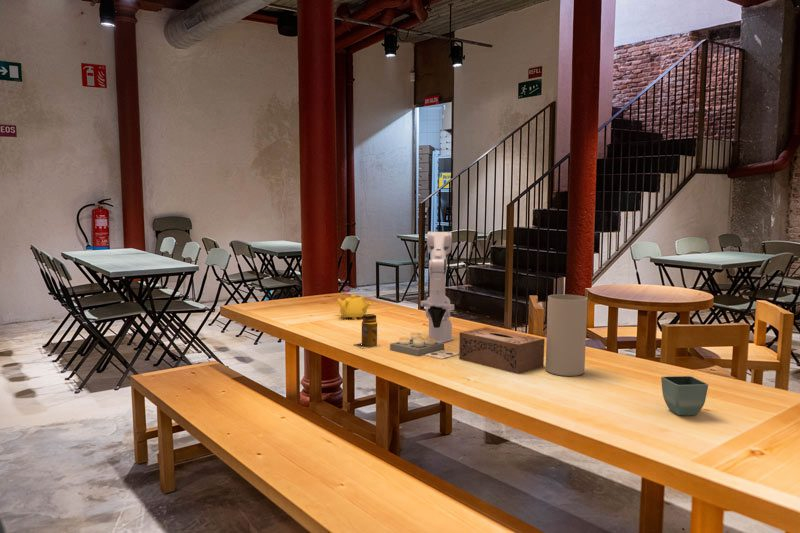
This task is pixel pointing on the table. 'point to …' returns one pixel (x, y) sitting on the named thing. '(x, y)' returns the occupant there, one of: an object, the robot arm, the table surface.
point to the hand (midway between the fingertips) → (436, 327)
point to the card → (442, 354)
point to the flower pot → (684, 394)
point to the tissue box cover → (502, 349)
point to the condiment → (369, 331)
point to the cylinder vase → (566, 335)
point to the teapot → (353, 307)
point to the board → (416, 351)
